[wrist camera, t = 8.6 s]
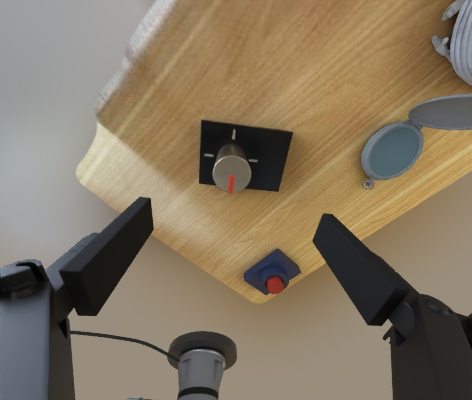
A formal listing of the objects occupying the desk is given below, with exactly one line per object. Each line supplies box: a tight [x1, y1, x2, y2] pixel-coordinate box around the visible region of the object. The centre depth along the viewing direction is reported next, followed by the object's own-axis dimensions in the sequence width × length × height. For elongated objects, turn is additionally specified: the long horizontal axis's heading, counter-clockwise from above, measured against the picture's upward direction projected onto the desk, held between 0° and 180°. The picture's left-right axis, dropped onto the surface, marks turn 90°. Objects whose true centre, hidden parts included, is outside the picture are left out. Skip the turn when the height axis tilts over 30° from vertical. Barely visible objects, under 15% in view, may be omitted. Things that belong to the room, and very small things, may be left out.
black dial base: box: [199, 120, 293, 192], centre depth 30 cm, size 14×10×3 cm
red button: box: [266, 277, 284, 294], centre depth 40 cm, size 4×4×2 cm
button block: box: [244, 249, 301, 295], centre depth 42 cm, size 11×8×4 cm
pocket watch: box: [361, 94, 472, 189], centre depth 27 cm, size 10×11×15 cm
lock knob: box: [213, 144, 251, 193], centre depth 24 cm, size 4×4×9 cm
